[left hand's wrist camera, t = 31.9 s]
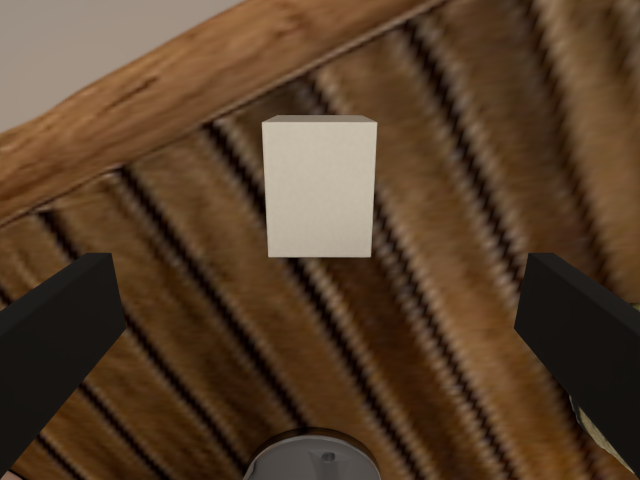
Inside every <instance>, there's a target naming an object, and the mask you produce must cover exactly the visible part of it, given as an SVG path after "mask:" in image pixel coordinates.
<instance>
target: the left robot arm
mask: <svg viewBox="0 0 640 480" xmlns="http://www.w3.org/2000/svg"><path fill="white" fill-rule="evenodd" d="M125 329H126V325H125V320H124V315H123V310H122V305H121V300H120V295H119V290H118V285H117V279H116V274H115V269H114V264H113V259H112V254H111V253H86V254H84V255H83V256H82V257H80V258H79V259H77V260H76V261H74V262H73V263H71V264H70V265H68V266H67V267H65V268H64V269H62V270H61V271H59V272H58V273H56V274H55V275H53V276H52V277H50V278H49V279H47V280H46V281H45V282H43V283H42V284H40V285H39V286H37V287H36V288H34V289H33V290H31V291H30V292H28V293H27V294H25V295H24V296H22V297H21V298H19V299H18V300H16V301H15V302H13V303H12V304H10V305H9V306H7V307H6V308H5V309H3V310H2V311H0V479H1V478H2V477H3V476H4V475H5V473H6V472H7V471H8V470H9V469H10V467H11V466H12V465H13V464H14V463H15V461H16V460H17V459H18V458H19V457H20V455H21V454H22V453H23V452H24V451H25V449H26V448H27V447H28V446H29V445H30V443H31V442H32V441H33V440H34V439H35V437H36V436H37V435H38V434H39V433H40V431H41V430H42V429H43V428H44V427H45V425H46V424H47V423H48V422H49V421H50V419H51V418H52V417H53V416H54V415H55V413H56V412H57V411H58V410H59V408H60V407H61V406H62V405H63V404H64V402H65V401H66V400H67V399H68V398H69V396H70V395H71V394H72V393H73V392H74V390H75V389H76V388H77V387H78V386H79V384H80V383H81V382H82V381H83V380H84V378H85V377H86V376H87V375H88V374H89V372H90V371H91V370H92V369H93V368H94V366H95V365H96V364H97V363H98V362H99V360H100V359H101V358H102V357H103V356H104V354H105V353H106V352H107V351H108V350H109V348H110V347H111V346H112V345H113V344H114V342H115V341H116V340H117V339H118V338H119V336H120V335H121V334H122V333H123V332H124V330H125ZM514 329H515V330H516V332H517V333H518V334H519V335H520V336H521V338H522V339H523V340H524V341H525V342H526V344H527V345H528V346H529V347H530V348H531V350H532V351H533V352H534V353H535V354H536V356H537V357H538V358H539V359H540V360H541V362H542V363H543V364H544V365H545V366H546V368H547V369H548V370H549V371H550V372H551V374H552V375H553V376H554V377H555V378H556V380H557V381H558V382H559V383H560V384H561V386H562V387H563V388H564V389H565V390H566V392H567V393H568V394H569V395H570V396H571V398H572V399H573V400H574V401H575V402H576V404H577V405H578V406H579V407H580V408H581V410H582V411H583V412H584V413H585V415H586V416H587V417H588V418H589V419H590V421H591V422H592V423H593V424H594V425H595V427H596V428H597V429H598V430H599V431H600V433H601V434H602V435H603V436H604V437H605V439H606V440H607V441H608V442H609V443H610V445H611V446H612V447H613V448H614V449H615V451H616V452H617V453H618V454H619V455H620V457H621V458H622V459H623V460H624V461H625V463H626V464H627V465H628V466H629V467H630V469H631V470H632V471H633V472H634V473H635V475H636V476H637V477H638V478H639V479H640V311H638V310H637V309H635V308H634V307H633V306H631V305H630V304H628V303H627V302H625V301H624V300H622V299H621V298H619V297H618V296H616V295H615V294H613V293H612V292H610V291H609V290H607V289H606V288H604V287H603V286H601V285H600V284H598V283H597V282H595V281H594V280H593V279H591V278H590V277H588V276H587V275H585V274H584V273H582V272H581V271H579V270H578V269H576V268H575V267H573V266H572V265H570V264H569V263H567V262H566V261H564V260H563V259H561V258H560V257H558V256H557V255H556V254H554V253H529V254H528V259H527V264H526V269H525V274H524V279H523V285H522V290H521V295H520V300H519V305H518V310H517V315H516V320H515V325H514ZM243 480H381V476H380V470H379V466H378V464H377V461H376V459H375V458H374V456H373V455H372V453H371V452H370V451H369V450H368V449H367V448H366V447H365V446H364V445H363V444H361V443H360V442H359V441H357V440H355V439H354V438H352V437H350V436H348V435H345V434H343V433H340V432H336V431H332V430H327V429H318V428H308V429H298V430H293V431H289V432H286V433H283V434H280V435H278V436H276V437H274V438H272V439H270V440H268V441H267V442H265V443H264V444H263V445H262V446H260V447H259V448H258V449H257V450H256V452H255V453H254V454H253V456H252V457H251V459H250V461H249V463H248V466H247V469H246V474H245V476H244V478H243Z"/></svg>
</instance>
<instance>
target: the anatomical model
mask: <svg viewBox="0 0 640 480" xmlns="http://www.w3.org/2000/svg"><path fill="white" fill-rule="evenodd" d="M0 480H23V479H21V478H20V477H18V476H17V475H15V474H13V473H11V472H10V471H7V472H6V473H5V475H4V476H3V477H2V478H1V479H0Z"/></svg>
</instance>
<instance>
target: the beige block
mask: <svg viewBox="0 0 640 480" xmlns="http://www.w3.org/2000/svg"><path fill="white" fill-rule="evenodd" d="M262 136H263V156H264V177H265V197H266V218H267V238H268V256H269V257H371V242H372V221H373V200H374V179H375V158H376V137H377V122H375V121H373V120H371V119H369V118H366V117H364V116H362V115H277V116H275V117H273V118H271V119H268V120H266V121H264V122H262Z"/></svg>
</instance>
